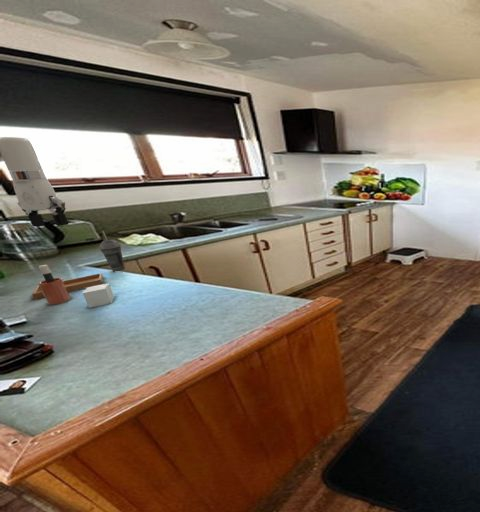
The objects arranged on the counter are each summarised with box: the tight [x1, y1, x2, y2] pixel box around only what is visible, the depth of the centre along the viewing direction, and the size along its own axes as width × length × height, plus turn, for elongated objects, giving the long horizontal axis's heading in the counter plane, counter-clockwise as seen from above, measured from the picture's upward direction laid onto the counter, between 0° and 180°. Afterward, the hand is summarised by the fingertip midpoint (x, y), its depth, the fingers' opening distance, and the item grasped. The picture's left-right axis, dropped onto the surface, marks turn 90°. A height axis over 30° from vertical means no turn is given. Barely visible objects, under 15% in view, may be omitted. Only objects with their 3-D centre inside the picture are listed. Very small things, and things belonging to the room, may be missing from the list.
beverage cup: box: [99, 230, 126, 273], centre depth 131 cm, size 7×7×20 cm
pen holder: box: [37, 277, 72, 305], centre depth 102 cm, size 6×6×8 cm
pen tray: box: [31, 272, 104, 300], centre depth 115 cm, size 19×10×2 cm, turn 134°
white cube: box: [82, 282, 115, 309], centre depth 101 cm, size 6×6×6 cm
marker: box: [38, 264, 55, 283], centre depth 101 cm, size 2×2×14 cm
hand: (51, 225), depth 98 cm, fingers open, 9 cm apart
